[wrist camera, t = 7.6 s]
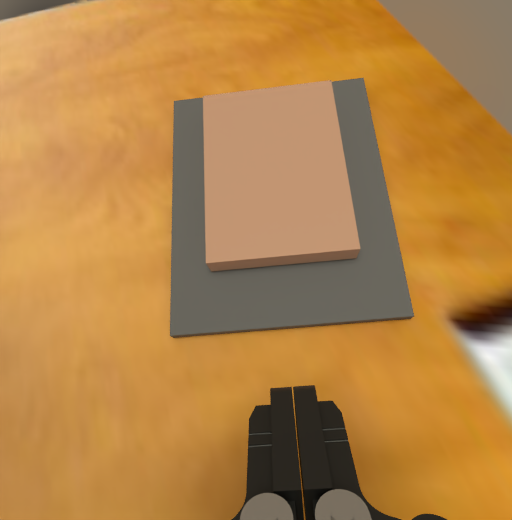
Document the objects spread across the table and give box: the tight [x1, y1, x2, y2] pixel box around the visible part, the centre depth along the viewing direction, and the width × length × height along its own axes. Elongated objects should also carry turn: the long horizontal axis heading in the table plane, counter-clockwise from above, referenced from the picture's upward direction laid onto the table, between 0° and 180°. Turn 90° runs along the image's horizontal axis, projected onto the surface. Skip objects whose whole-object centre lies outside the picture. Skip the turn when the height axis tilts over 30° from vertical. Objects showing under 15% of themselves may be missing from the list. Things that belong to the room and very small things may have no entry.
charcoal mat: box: [170, 78, 414, 338], centre depth 29 cm, size 20×16×1 cm
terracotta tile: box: [203, 80, 360, 271], centre depth 28 cm, size 2×10×14 cm
